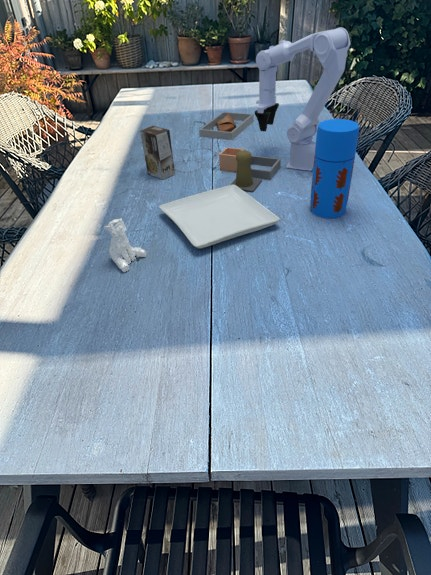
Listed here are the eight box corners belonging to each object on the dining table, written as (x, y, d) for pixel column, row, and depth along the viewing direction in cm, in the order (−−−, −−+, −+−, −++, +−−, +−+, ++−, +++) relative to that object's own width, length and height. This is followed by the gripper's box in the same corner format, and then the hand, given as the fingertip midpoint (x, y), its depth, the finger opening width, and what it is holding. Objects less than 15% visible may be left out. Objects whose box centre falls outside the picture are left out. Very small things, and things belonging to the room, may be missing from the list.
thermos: (347, 203, 126) (361, 119, 111) (344, 220, 119) (358, 133, 103) (312, 199, 130) (320, 117, 114) (306, 216, 122) (314, 131, 106)
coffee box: (176, 174, 151) (170, 129, 141) (162, 180, 147) (156, 135, 137) (159, 168, 156) (153, 124, 146) (146, 174, 152) (139, 130, 142)
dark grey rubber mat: (262, 181, 142) (262, 179, 142) (252, 192, 136) (252, 190, 135) (238, 177, 145) (238, 176, 145) (228, 188, 139) (228, 187, 139)
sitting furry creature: (125, 274, 105) (115, 234, 97) (101, 265, 109) (89, 226, 101) (148, 255, 111) (140, 216, 103) (124, 247, 115) (115, 209, 107)
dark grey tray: (253, 120, 192) (253, 114, 190) (232, 139, 174) (231, 132, 172) (223, 118, 197) (222, 111, 195) (199, 136, 180) (198, 129, 178)
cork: (251, 187, 137) (250, 155, 130) (233, 186, 139) (232, 154, 132) (254, 179, 142) (254, 148, 135) (237, 178, 143) (236, 147, 136)
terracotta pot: (244, 164, 153) (244, 149, 150) (237, 172, 149) (236, 156, 145) (227, 162, 156) (226, 147, 152) (219, 170, 151) (218, 154, 147)
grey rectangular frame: (280, 166, 150) (280, 158, 148) (270, 179, 142) (270, 171, 140) (250, 163, 154) (250, 155, 152) (239, 175, 146) (239, 167, 144)
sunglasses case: (214, 122, 193) (220, 109, 189) (227, 129, 195) (233, 115, 192) (218, 134, 179) (225, 120, 175) (232, 141, 181) (239, 127, 178)
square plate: (196, 258, 109) (195, 246, 107) (159, 215, 128) (157, 204, 126) (281, 229, 118) (281, 217, 116) (234, 192, 137) (233, 182, 135)
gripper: (263, 82, 151) (263, 120, 159) (249, 93, 141) (249, 133, 149) (282, 83, 148) (280, 122, 157) (268, 94, 138) (268, 134, 147)
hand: (266, 127), depth 153 cm, fingers open, 7 cm apart
